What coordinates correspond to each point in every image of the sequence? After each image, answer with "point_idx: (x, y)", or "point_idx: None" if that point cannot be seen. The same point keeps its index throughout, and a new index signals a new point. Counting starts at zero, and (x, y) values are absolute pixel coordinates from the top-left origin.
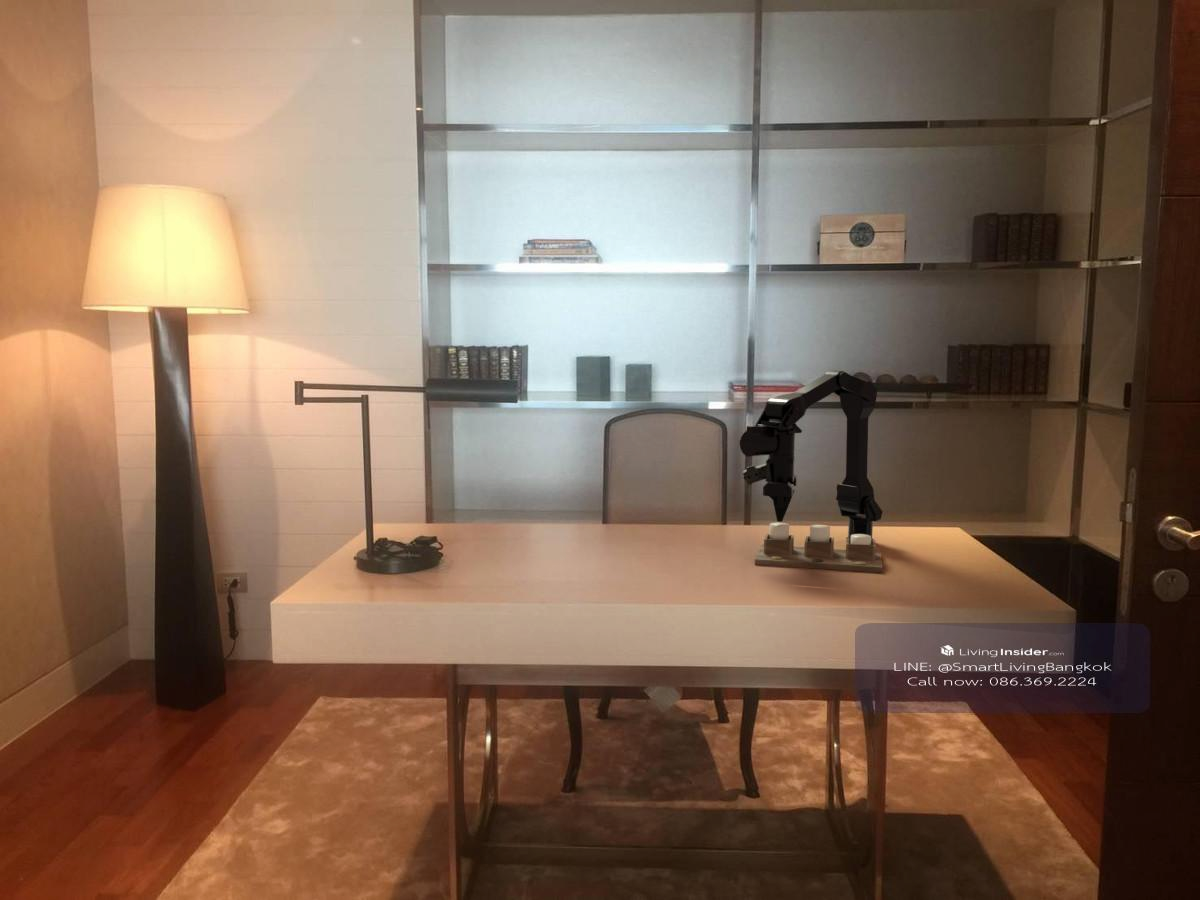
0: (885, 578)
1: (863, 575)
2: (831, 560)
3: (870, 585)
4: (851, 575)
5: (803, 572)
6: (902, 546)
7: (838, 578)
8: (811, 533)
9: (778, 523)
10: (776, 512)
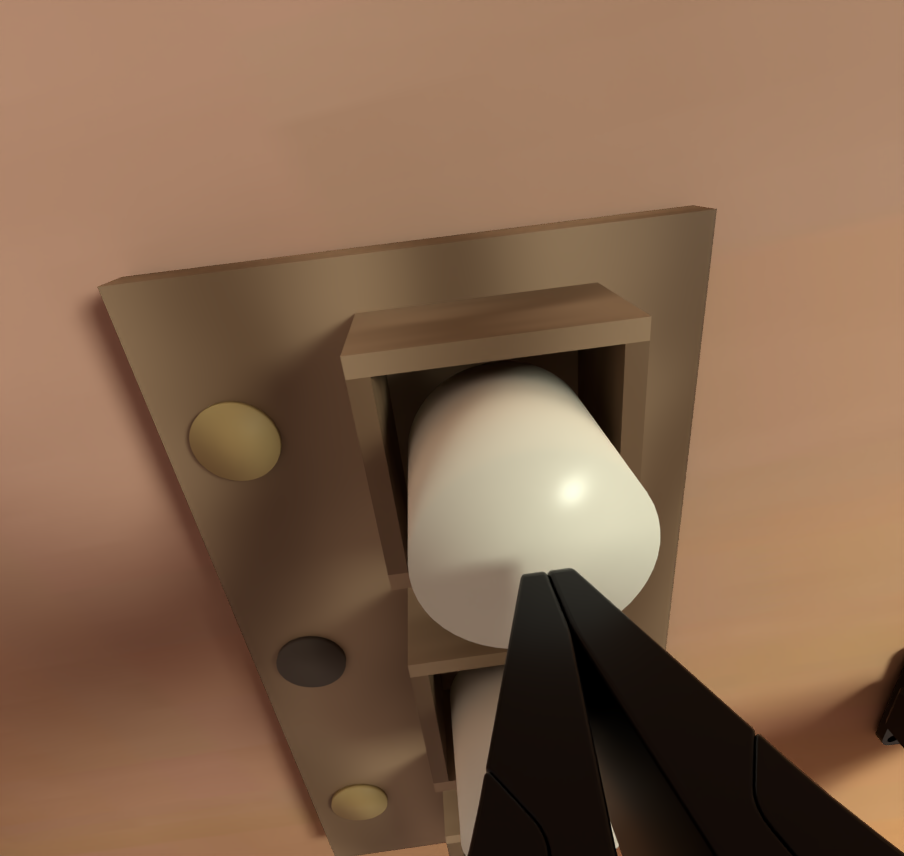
0: (268, 841)
1: (270, 788)
2: (364, 706)
3: (111, 828)
4: (240, 759)
5: (152, 594)
6: (874, 801)
7: (143, 733)
8: (484, 742)
9: (592, 538)
10: (501, 697)
